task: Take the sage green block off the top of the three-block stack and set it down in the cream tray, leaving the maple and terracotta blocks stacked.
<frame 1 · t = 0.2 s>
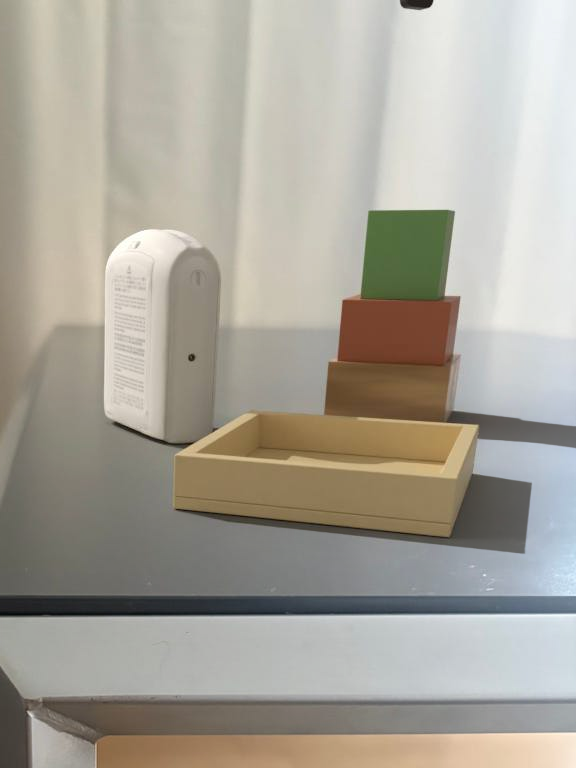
green block: (403, 297, 68), point 8 cm above the table, touching middle block
base block: (390, 415, 71), on the table, touching middle block
middle block: (396, 357, 70), point 4 cm above the table, touching base block, green block
tray: (332, 489, 51), on the table
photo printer: (156, 433, 66), on the table
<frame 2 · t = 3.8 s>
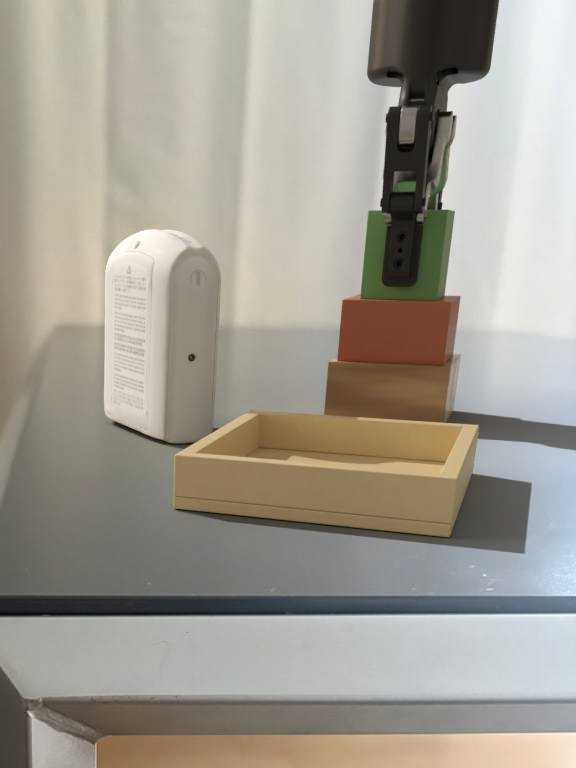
hand: (404, 283, 68), 9 cm above the table, tool pointing down, fingers closed on green block, 5 cm apart
green block: (402, 297, 68), point 8 cm above the table, touching gripper, middle block
everything else where it was.
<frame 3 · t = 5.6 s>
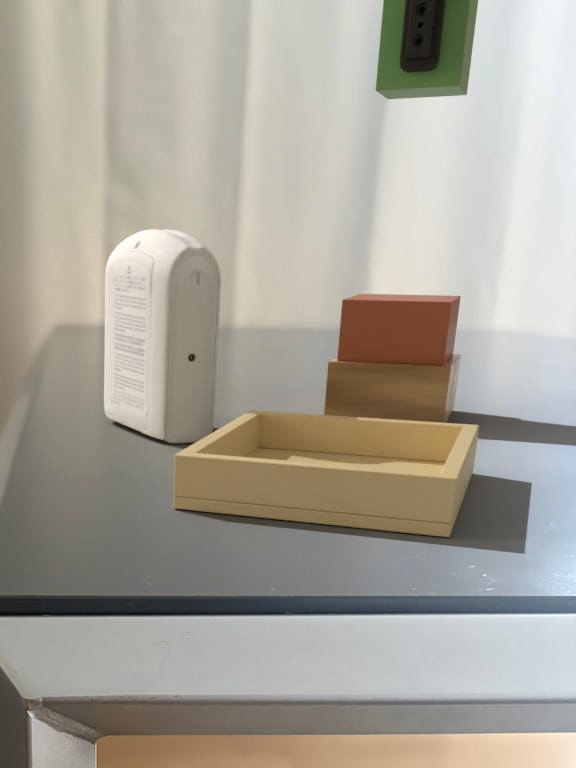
hand: (423, 75, 62), 21 cm above the table, tool pointing down, fingers closed on green block, 5 cm apart
green block: (421, 92, 63), point 20 cm above the table, touching gripper
middle block: (396, 357, 70), point 4 cm above the table, touching base block
everything else where it was.
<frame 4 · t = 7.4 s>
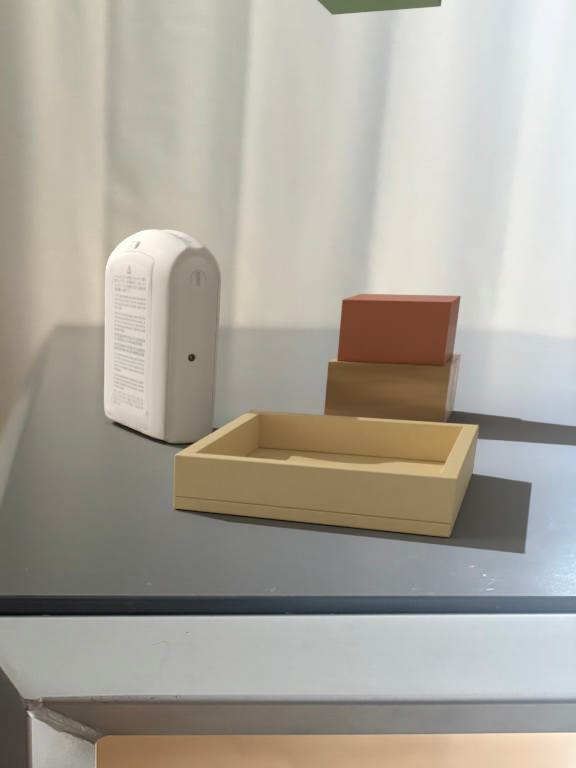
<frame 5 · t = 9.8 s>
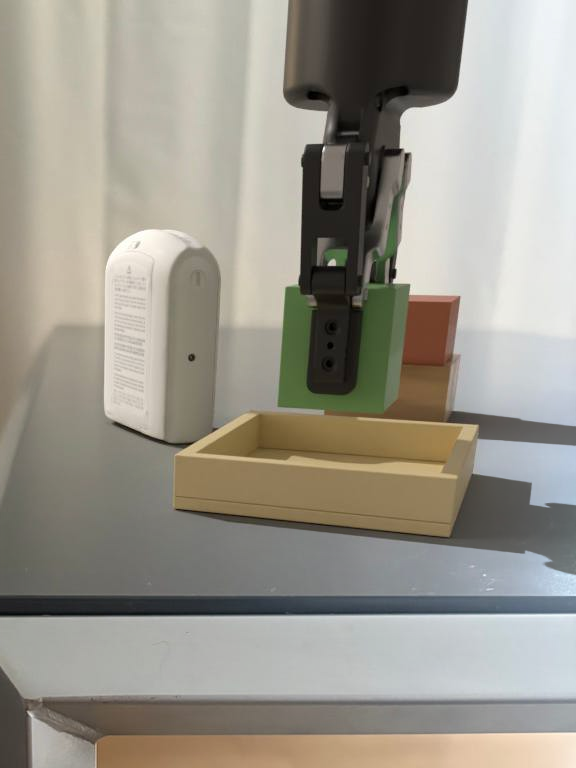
hand: (341, 384, 49), 5 cm above the table, tool pointing down, fingers closed on green block, 5 cm apart
green block: (338, 402, 49), point 4 cm above the table, touching gripper
everything else where it was.
when the fingers open (2 cm above the table, at t = 11.4 s): green block stays where it is, resting on tray.
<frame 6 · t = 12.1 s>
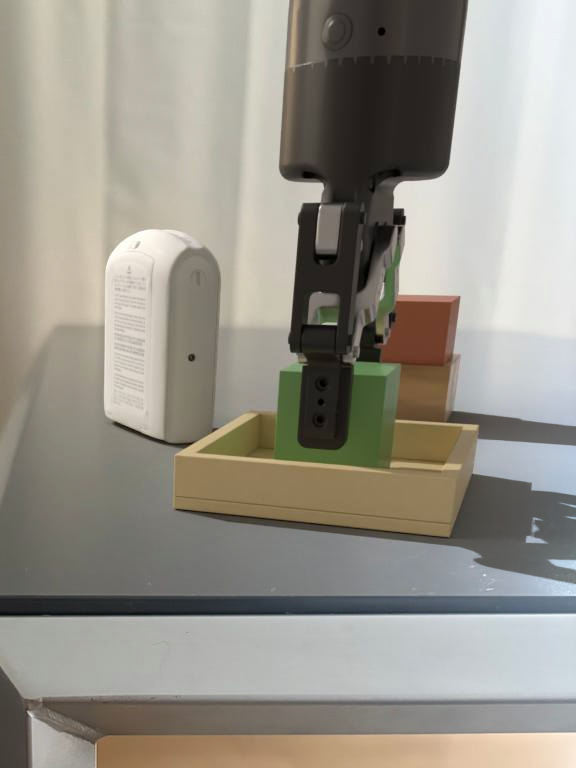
hand: (338, 432, 50), 3 cm above the table, tool pointing down, fingers open, 8 cm apart
green block: (332, 478, 51), point 1 cm above the table, touching tray
everything else where it was.
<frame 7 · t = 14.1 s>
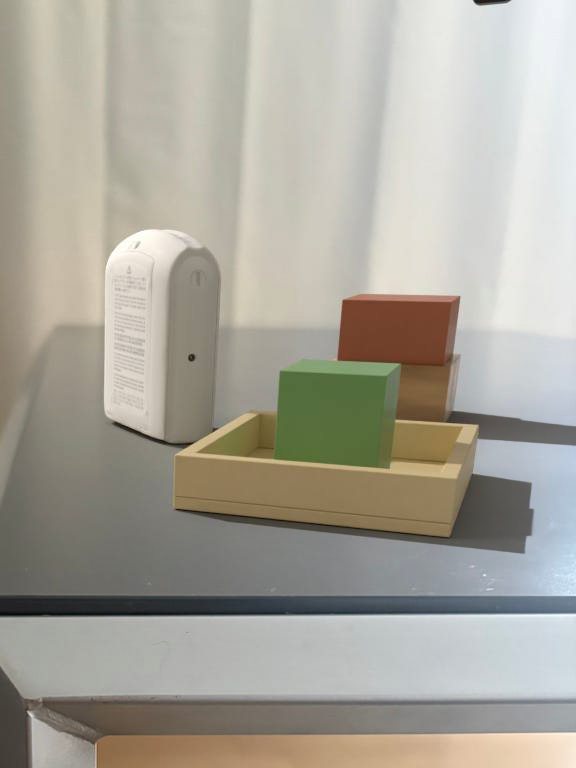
nothing on the table moved.
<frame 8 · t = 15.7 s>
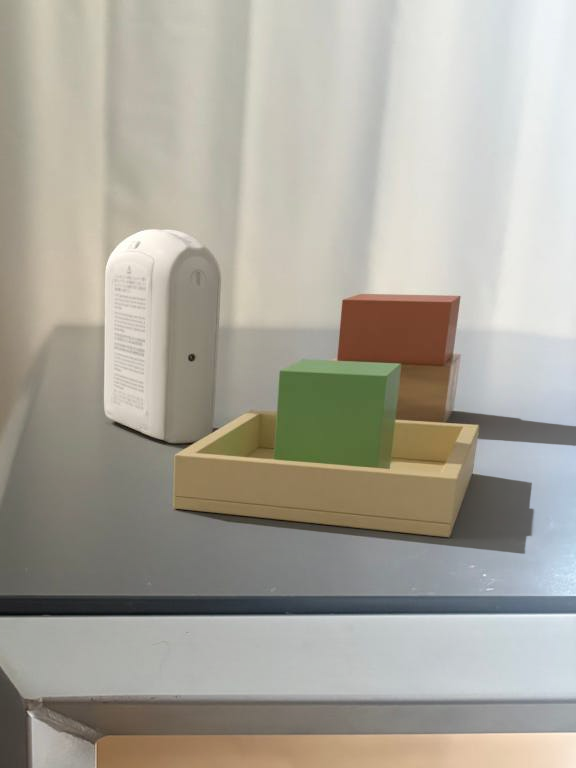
nothing on the table moved.
at the end: green block inside the target area in the tray (0.1 cm from its centre), point 0.6 cm above the tray's base; middle block 0.0 cm off-centre on the base block, point 4.0 cm above the base block's base; the gripper is holding nothing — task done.
